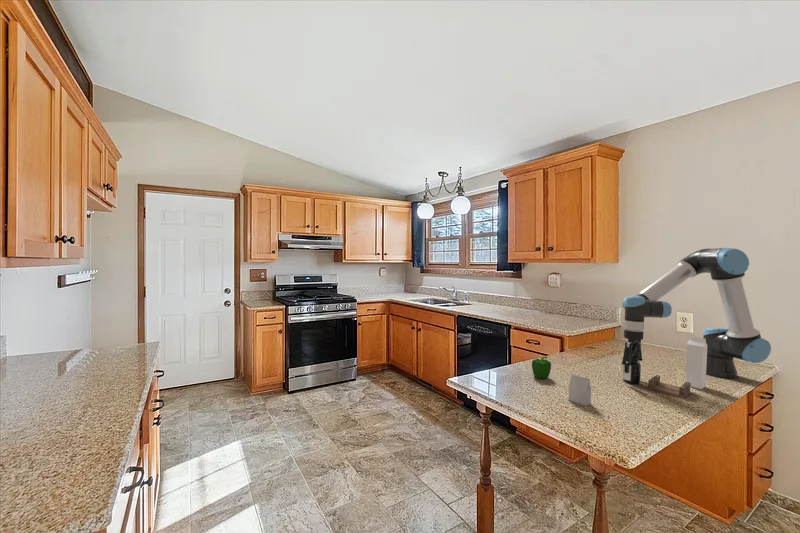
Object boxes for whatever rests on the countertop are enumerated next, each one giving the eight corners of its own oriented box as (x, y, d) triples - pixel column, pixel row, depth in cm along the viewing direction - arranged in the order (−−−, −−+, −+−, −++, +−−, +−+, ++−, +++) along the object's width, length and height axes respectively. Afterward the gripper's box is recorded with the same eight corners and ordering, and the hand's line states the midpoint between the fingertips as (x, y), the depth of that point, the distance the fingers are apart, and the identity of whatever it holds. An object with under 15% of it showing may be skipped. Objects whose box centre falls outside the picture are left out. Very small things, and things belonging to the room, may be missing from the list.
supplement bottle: (637, 380, 170) (639, 355, 169) (642, 385, 163) (643, 358, 163) (620, 378, 172) (622, 353, 171) (624, 383, 165) (625, 357, 165)
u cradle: (655, 383, 166) (656, 374, 166) (690, 391, 157) (690, 382, 157) (647, 389, 158) (648, 380, 158) (683, 398, 149) (684, 388, 149)
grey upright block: (585, 405, 138) (586, 379, 138) (568, 399, 144) (569, 374, 143) (590, 403, 140) (591, 378, 140) (573, 398, 146) (574, 373, 146)
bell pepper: (530, 378, 168) (531, 357, 168) (531, 373, 176) (532, 352, 176) (550, 381, 165) (551, 359, 165) (550, 376, 173) (551, 355, 173)
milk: (701, 389, 160) (704, 339, 159) (684, 385, 165) (687, 337, 164) (705, 386, 164) (708, 338, 163) (688, 382, 169) (691, 335, 168)
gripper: (633, 325, 178) (630, 370, 178) (615, 331, 162) (612, 380, 162) (651, 328, 172) (649, 374, 173) (634, 334, 156) (632, 384, 156)
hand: (631, 377), depth 167 cm, fingers open, 12 cm apart
